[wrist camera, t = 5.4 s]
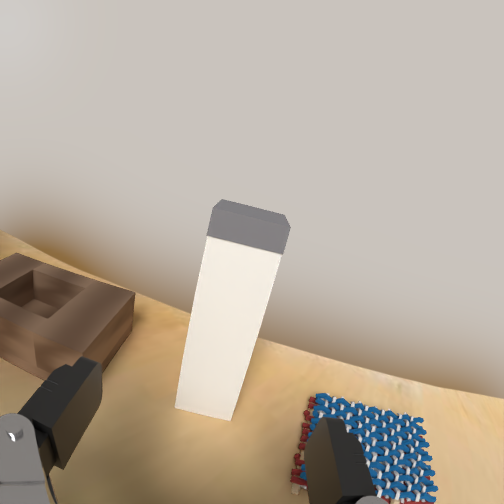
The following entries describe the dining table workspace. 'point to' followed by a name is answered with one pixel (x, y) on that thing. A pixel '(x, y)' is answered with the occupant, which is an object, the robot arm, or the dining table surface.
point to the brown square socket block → (58, 316)
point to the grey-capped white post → (229, 305)
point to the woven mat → (376, 449)
